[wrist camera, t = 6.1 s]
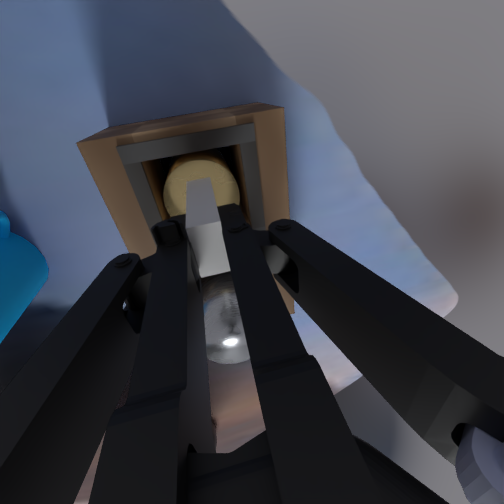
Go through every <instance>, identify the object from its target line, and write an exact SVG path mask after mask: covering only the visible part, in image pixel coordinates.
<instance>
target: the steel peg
mask: <svg viewBox="0 0 504 504" xmlns="http://www.w3.org/2000/svg"><path fill="white" fill-rule="evenodd" d="M199 277H200V280H201V283H202V294H203V308H204V322H205V336H206V350H207V358H208V359H209V360H211V361H213V362H216V363H222V364H233V363H239V362H243V361H246V360H248V359H250V356H249V351H248V347H247V342H246V338H245V333H244V329H243V324H242V320H241V315H240V311H239V307H238V302H237V298H236V293H235V289H234V284H233V280H232V275H231V271H228V272H224V273H220V274H215V275H211V276H207V277H202V278H201V276H200V275H199Z"/></svg>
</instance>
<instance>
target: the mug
mask: <svg viewBox="0 0 504 504" xmlns="http://www.w3.org/2000/svg"><path fill="white" fill-rule="evenodd" d="M48 271H49V268H48V265H47V263H46V260H45V258H44V256H43V255H42V254H41V253H40V251H39V250H38V249H37V248H36V247H35V246H34V245H33V244H31V243H30V242H28V241H27V240H26V239H24V238H23V237H21V236H19V235H17V234H14V233H12V232H10V221H9V219H8V217H7V215H6V214H5V213H4V212H3V211H1V210H0V343H1V342H2V340H3V339H4V338H5V336H6V335H7V334H8V332H9V331H10V330H11V328H12V327H13V326H14V324H15V323H16V322H17V320H18V319H19V318H20V316H21V315H22V313H23V312H24V311H25V309H26V308H27V307H28V305H29V304H30V303H31V301H32V300H33V299H34V297H35V296H36V295H37V293H38V292H39V290H40V289H41V288H42V286H43V285H44V283H45V282H46V280H47V279H48Z"/></svg>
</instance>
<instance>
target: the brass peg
mask: <svg viewBox="0 0 504 504" xmlns="http://www.w3.org/2000/svg"><path fill="white" fill-rule="evenodd" d="M208 177H210V179H211V184H212V188H213V192H214V196H215V200H216V205H217V206H222V205H227V204H232V203H235V204H237V205H239V201H240V193H239V188H238V185H237V182H236V180H235V178H234V177H233V175H232V173H231V171H230V169H229V167H228V165H227V163H226V161H225V159H224V157H223V155H222V154H221V153H220V152H219V150H218V149H216V148H214V149H208V150H203V151H197V152H192V153H186V154H181V155H175V156H173V157H172V159H171V162H170V166H169V170H168V174H167V178H166V182H165V186H164V193H163V198H164V204H165V207H166V209H167V211H168V213H169V215H170V216H171V217H172V216H177V215H182V214H186V188H187V181H192V180H197V179H202V178H208Z"/></svg>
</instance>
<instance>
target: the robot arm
mask: <svg viewBox="0 0 504 504" xmlns="http://www.w3.org/2000/svg"><path fill="white" fill-rule="evenodd" d="M151 232H152V234H153V237H154V239H155V242H156V244H157V250H156V253H155V254H153V255H151V256H148V257H146V258H143V259H140V257H139V255H138V254H136V253H127V254H122V255H119V256H117V257H116V258H114V259H113V260H111V261H110V262H109V263H108V264H107V265H106V266H105V268H104V269H103V270H102V271H101V273H100V274H99V275H98V276H97V277H96V279H95V280H94V281H93V282H92V283H91V285H90V286H89V287H88V288H87V290H86V291H85V292H84V293H83V294H82V296H81V297H80V298H79V299H78V301H77V302H76V303H75V304H74V305H73V307H72V308H71V309H70V310H69V312H68V313H67V314H66V315H65V316H64V318H63V319H62V320H61V321H60V322H59V324H58V325H57V326H56V327H55V329H54V330H53V331H52V332H51V333H50V335H49V336H48V337H47V338H46V340H45V341H44V342H43V343H42V344H41V346H40V347H39V348H38V349H37V350H36V352H35V353H34V354H33V355H32V357H31V358H30V359H29V360H28V361H27V363H26V364H25V365H24V366H23V368H22V369H21V370H20V371H19V372H18V374H17V375H16V376H15V377H14V378H13V380H12V381H11V382H10V383H9V385H8V386H7V387H6V388H5V389H4V391H3V392H2V393H1V394H0V504H73V503H74V501H75V499H76V496H77V494H78V492H79V490H80V487H81V485H82V483H83V481H84V478H85V476H86V474H87V472H88V469H89V467H90V465H91V462H92V460H93V458H94V456H95V453H96V451H97V449H98V447H99V444H100V442H101V440H102V437H103V435H104V433H105V437H104V441H103V445H102V449H101V453H100V457H99V462H98V466H97V470H96V474H95V478H94V483H93V487H92V491H91V495H90V499H89V503H88V504H449V503H448V502H446V501H445V500H444V499H443V498H441V497H440V496H438V495H437V494H436V493H434V492H433V491H432V490H430V489H429V488H428V487H426V486H425V485H424V484H422V483H421V482H420V481H418V480H417V479H416V478H414V477H413V476H412V475H410V474H409V473H408V472H406V471H405V470H404V469H402V468H401V467H400V466H398V465H397V464H396V463H394V462H393V461H392V460H390V459H389V458H388V457H386V456H385V455H384V454H382V453H381V452H380V451H378V450H377V449H375V448H374V447H373V446H371V445H370V444H369V443H367V442H365V441H363V440H362V439H360V438H358V437H356V436H354V435H352V433H351V431H350V429H349V427H348V425H347V423H346V420H345V419H344V416H343V414H342V412H341V410H340V408H339V406H338V404H337V402H336V399H335V397H334V395H333V393H332V391H331V388H330V386H329V384H328V382H327V380H326V378H325V376H324V373H323V371H322V369H321V367H320V365H319V363H318V362H317V360H316V358H315V357H314V356H313V355H309V354H308V353H307V351H306V349H305V347H304V345H303V343H302V340H301V338H300V336H299V334H298V331H297V329H296V327H295V325H294V322H293V320H292V318H291V316H290V313H289V311H288V309H287V307H286V304H285V302H284V300H283V297H282V295H281V293H280V291H279V288H278V286H277V284H276V282H275V279H276V280H277V281H278V282H279V284H280V285H281V286H282V287H283V288H284V289H285V290H286V291H287V292H288V293H289V294H290V296H291V297H292V298H293V299H294V300H295V301H296V302H297V303H298V304H299V305H300V307H301V308H302V309H303V310H304V311H305V312H306V313H307V314H308V315H309V316H310V317H311V319H312V320H313V321H314V322H315V323H316V324H317V325H318V326H319V327H320V328H321V330H322V331H323V332H324V333H325V334H326V335H327V336H328V337H329V338H330V339H331V340H332V342H333V343H334V344H335V345H336V346H337V347H338V348H339V349H340V350H341V351H342V353H343V354H344V355H345V356H346V357H347V358H348V359H349V360H350V361H351V362H352V363H353V365H354V366H355V367H356V368H357V369H358V370H359V371H360V372H361V373H362V374H363V376H364V377H365V378H366V379H367V380H368V381H369V382H370V383H371V384H372V385H373V387H374V388H375V389H376V390H377V391H378V392H379V393H380V394H381V395H382V396H383V397H384V399H385V400H386V401H387V402H388V403H389V404H390V405H391V406H392V407H393V408H394V409H395V411H396V412H397V413H398V414H399V415H400V416H401V417H402V418H403V419H404V420H405V421H406V422H407V423H408V424H409V425H410V427H411V428H413V430H414V431H416V433H417V434H418V435H420V437H421V438H422V439H423V440H425V441H426V442H427V443H428V444H429V445H430V446H431V447H433V448H434V449H435V450H436V451H437V452H439V454H441V455H442V456H443V457H444V458H445V459H446V460H448V461H449V462H450V463H452V464H453V465H454V466H455V468H456V472H457V477H458V479H459V481H460V483H461V486H462V488H463V491H464V493H465V495H466V498H467V499H468V501H469V502H470V503H471V504H504V357H502V356H499V355H498V354H496V353H495V352H493V351H492V350H490V349H489V348H487V347H486V346H484V345H483V344H481V343H480V342H478V341H477V340H475V339H474V338H472V337H470V336H469V335H468V334H466V333H464V332H463V331H462V330H460V329H458V328H457V327H455V326H454V325H452V324H451V323H449V322H448V321H446V320H445V319H443V318H442V317H440V316H439V315H437V314H436V313H434V312H433V311H431V310H430V309H428V308H427V307H425V306H424V305H422V304H421V303H419V302H418V301H416V300H415V299H413V298H411V297H410V296H408V295H407V294H405V293H404V292H402V291H401V290H399V289H398V288H396V287H395V286H393V285H392V284H390V283H389V282H387V281H386V280H384V279H383V278H381V277H380V276H378V275H377V274H375V273H374V272H372V271H371V270H369V269H367V268H366V267H364V266H363V265H361V264H360V263H358V262H357V261H355V260H354V259H352V258H351V257H349V256H348V255H346V254H345V253H343V252H342V251H340V250H339V249H337V248H336V247H334V246H333V245H331V244H330V243H328V242H327V241H325V240H323V239H322V238H320V237H319V236H317V235H316V234H314V233H313V232H311V231H310V230H308V229H307V228H305V227H304V226H302V225H301V224H299V223H298V222H296V221H294V220H290V219H279V220H276V221H274V222H272V223H271V224H270V225H269V226H268V230H254V229H252V228H251V225H250V224H249V223H246V220H245V218H244V216H243V214H242V211H241V209H240V206H239V205H237V204H235V203H232V204H227V205H222V206H217V205H216V200H215V196H214V192H213V188H212V184H211V179H210V177H208V178H202V179H197V180H192V181H187V188H186V214H182V215H177V216H172V217H171V218H170V219H167V220H163V221H161V222H158V223H156V224H155V225H154V226H152V228H151ZM228 271H231V275H232V280H233V284H234V289H235V293H236V298H237V302H238V307H239V311H240V315H241V320H242V324H243V329H244V333H245V338H246V342H247V347H248V351H249V356H250V360H251V365H252V369H253V374H254V378H255V383H256V387H257V392H258V396H259V401H260V405H261V410H262V414H263V419H264V423H265V428H266V430H265V431H264V432H262V433H261V434H259V435H258V436H256V437H254V438H253V439H251V440H250V441H248V442H247V443H245V444H244V445H242V446H241V447H239V448H238V449H236V450H235V451H233V452H230V453H216V445H217V436H216V427H215V425H214V424H213V423H212V421H211V407H210V393H209V379H208V364H207V350H206V336H205V322H204V308H203V294H202V283H201V280H200V277H199V273H200V276H201V278H202V277H207V276H211V275H215V274H220V273H224V272H228ZM272 273H273V275H272ZM273 276H274V277H273ZM274 278H275V279H274ZM124 302H125V303H126V307H125V308H124V309H123V303H124ZM132 369H133V372H132ZM131 372H132V378H131V383H130V388H129V393H128V398H127V401H126V403H125V405H124V406H123V407H121V408H118V409H116V410H115V408H116V406H117V403H118V401H119V399H120V397H121V394H122V392H123V390H124V387H125V385H126V383H127V381H128V378H129V376H130V374H131ZM114 410H115V411H114ZM105 431H106V432H105Z"/></svg>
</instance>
